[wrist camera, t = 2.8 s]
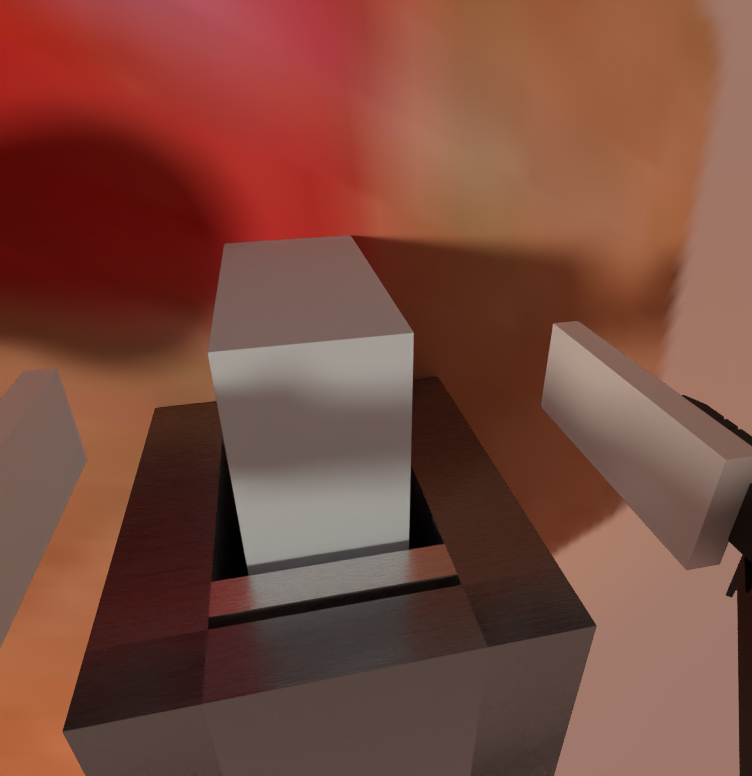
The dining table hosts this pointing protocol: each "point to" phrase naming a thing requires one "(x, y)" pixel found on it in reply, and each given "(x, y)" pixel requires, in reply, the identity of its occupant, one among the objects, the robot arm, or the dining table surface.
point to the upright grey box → (312, 402)
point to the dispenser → (328, 629)
